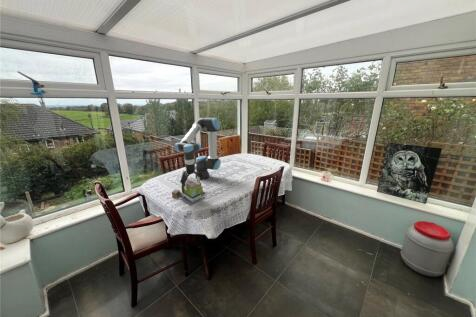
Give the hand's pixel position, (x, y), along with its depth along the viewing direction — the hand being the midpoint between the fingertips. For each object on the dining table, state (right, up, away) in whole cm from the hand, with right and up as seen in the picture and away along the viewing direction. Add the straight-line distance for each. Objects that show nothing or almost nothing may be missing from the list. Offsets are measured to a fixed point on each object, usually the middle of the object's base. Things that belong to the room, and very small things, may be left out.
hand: (192, 186), depth 158 cm
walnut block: (-16, -10, +7) cm, 20 cm away
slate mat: (0, -11, +3) cm, 12 cm away
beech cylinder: (+4, -7, +14) cm, 16 cm away
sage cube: (-10, -9, +9) cm, 16 cm away
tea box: (-2, -9, +4) cm, 10 cm away
